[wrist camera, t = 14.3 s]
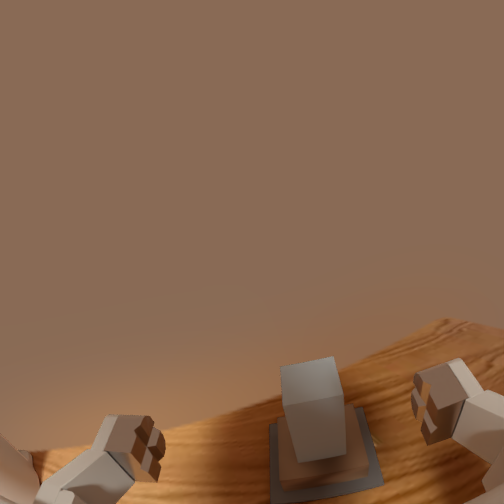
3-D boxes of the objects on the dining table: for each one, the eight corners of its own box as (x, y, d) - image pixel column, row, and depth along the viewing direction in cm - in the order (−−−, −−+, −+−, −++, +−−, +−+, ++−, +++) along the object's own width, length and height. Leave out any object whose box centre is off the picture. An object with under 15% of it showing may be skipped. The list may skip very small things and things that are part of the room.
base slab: (284, 491, 27) (279, 480, 26) (281, 431, 35) (277, 417, 34) (367, 476, 26) (369, 464, 25) (353, 417, 34) (352, 403, 33)
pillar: (298, 463, 27) (282, 405, 24) (295, 427, 32) (280, 366, 28) (346, 454, 27) (343, 394, 23) (338, 419, 31) (333, 356, 28)
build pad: (270, 505, 25) (270, 504, 25) (269, 425, 37) (269, 424, 37) (383, 484, 24) (384, 483, 24) (362, 408, 35) (362, 406, 35)
